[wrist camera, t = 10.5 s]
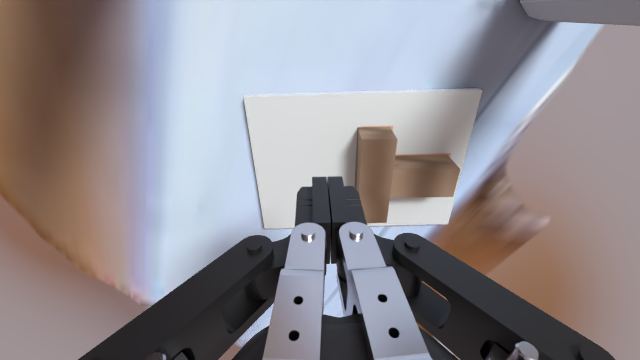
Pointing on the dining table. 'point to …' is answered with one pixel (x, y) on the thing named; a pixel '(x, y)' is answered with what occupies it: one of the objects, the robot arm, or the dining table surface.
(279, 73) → the dining table surface
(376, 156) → the tee block
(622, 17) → the water bottle
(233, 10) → the dining table surface
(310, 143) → the board
